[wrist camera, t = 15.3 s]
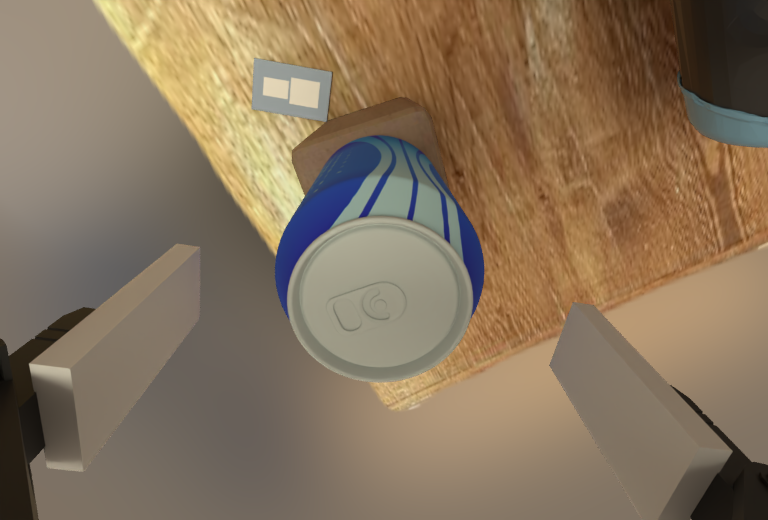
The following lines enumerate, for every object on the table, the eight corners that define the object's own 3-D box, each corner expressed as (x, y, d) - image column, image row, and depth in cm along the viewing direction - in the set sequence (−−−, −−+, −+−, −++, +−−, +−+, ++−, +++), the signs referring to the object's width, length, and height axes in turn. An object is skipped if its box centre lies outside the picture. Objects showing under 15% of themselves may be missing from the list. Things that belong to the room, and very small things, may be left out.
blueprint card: (332, 72, 45) (332, 72, 45) (326, 121, 47) (326, 122, 47) (255, 58, 45) (253, 58, 44) (252, 108, 47) (251, 109, 46)
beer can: (338, 114, 28) (294, 153, 13) (458, 157, 29) (541, 237, 14) (304, 231, 31) (237, 370, 16) (414, 266, 32) (445, 424, 17)
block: (432, 182, 50) (464, 243, 31) (349, 207, 51) (333, 280, 32) (408, 94, 46) (429, 102, 28) (320, 122, 47) (283, 149, 29)
